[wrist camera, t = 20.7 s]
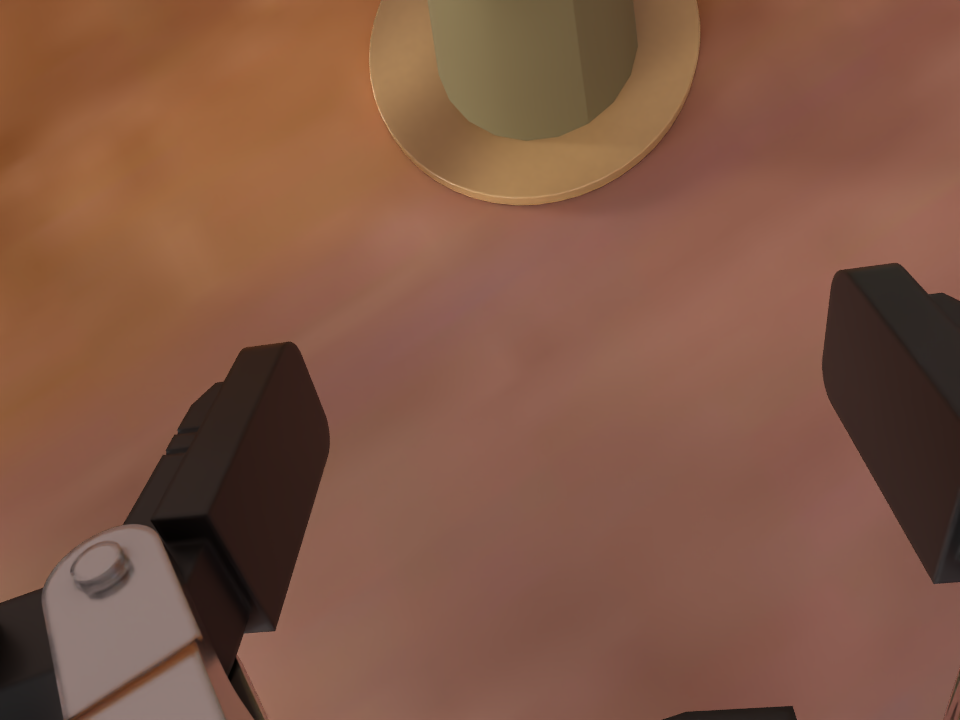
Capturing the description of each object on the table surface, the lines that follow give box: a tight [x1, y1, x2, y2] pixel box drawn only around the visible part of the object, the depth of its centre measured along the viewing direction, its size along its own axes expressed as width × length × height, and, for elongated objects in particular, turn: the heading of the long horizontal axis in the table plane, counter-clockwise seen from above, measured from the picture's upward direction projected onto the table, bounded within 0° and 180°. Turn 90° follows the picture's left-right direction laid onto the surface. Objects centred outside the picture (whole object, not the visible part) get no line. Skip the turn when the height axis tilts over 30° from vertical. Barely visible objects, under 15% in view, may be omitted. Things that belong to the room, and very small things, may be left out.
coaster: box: [369, 0, 700, 205], centre depth 22 cm, size 10×10×1 cm
